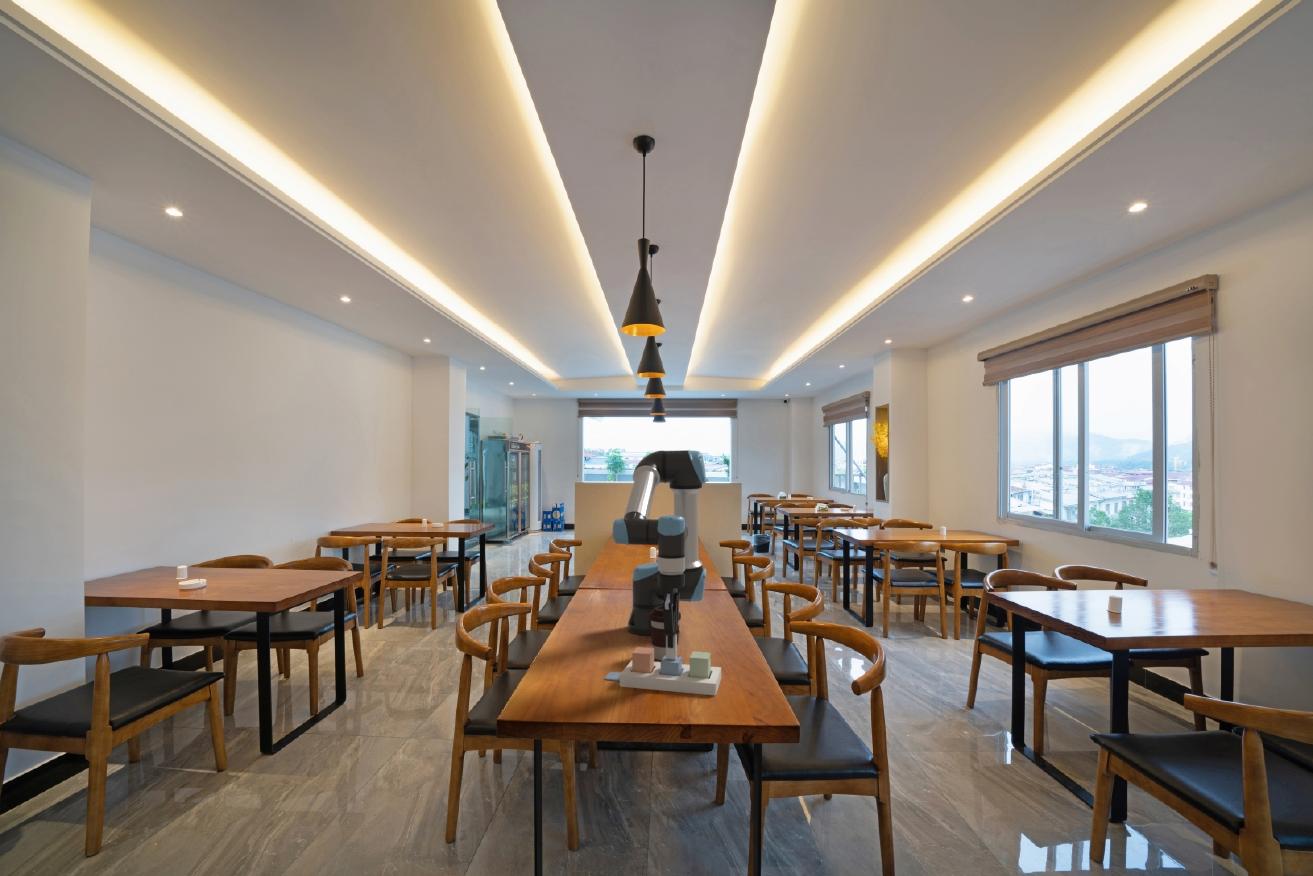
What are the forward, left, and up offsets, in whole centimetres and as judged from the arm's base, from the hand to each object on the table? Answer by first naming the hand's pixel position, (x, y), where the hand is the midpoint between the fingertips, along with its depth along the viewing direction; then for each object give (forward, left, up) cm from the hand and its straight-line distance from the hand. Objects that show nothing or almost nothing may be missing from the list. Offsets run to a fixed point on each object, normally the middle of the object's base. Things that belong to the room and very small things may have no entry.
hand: (671, 658), depth 155 cm
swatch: (0, -16, -7) cm, 17 cm away
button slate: (0, 0, -6) cm, 6 cm away
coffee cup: (-19, -6, -7) cm, 21 cm away
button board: (0, 0, -7) cm, 7 cm away
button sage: (0, +8, -4) cm, 9 cm away
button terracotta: (0, -8, -4) cm, 9 cm away
